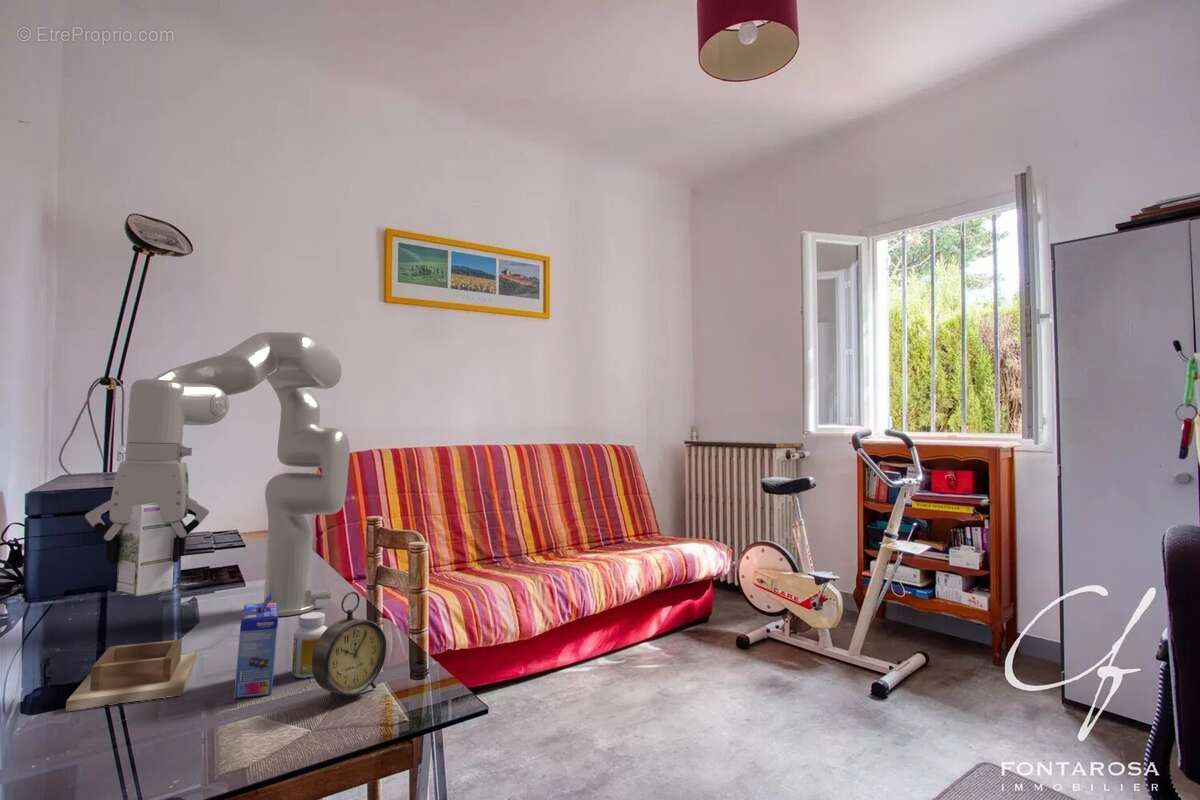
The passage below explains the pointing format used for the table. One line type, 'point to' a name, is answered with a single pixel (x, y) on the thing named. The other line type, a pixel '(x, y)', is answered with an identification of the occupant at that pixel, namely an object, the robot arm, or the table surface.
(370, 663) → the alarm clock
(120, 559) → the syrup box
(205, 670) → the table surface
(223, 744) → the table surface
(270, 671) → the ink cartridge box
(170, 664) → the desk stand
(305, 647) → the supplement bottle
